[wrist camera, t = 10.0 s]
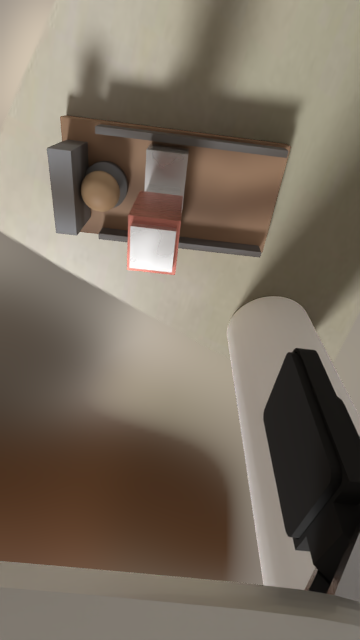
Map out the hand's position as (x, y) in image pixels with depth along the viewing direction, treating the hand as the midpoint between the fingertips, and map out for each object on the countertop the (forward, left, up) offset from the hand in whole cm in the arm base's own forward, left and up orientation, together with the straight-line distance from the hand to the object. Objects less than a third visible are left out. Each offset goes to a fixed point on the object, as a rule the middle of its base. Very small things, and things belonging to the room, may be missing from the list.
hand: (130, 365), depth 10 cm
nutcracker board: (0, 0, -23) cm, 23 cm away
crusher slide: (0, 0, -22) cm, 22 cm away
